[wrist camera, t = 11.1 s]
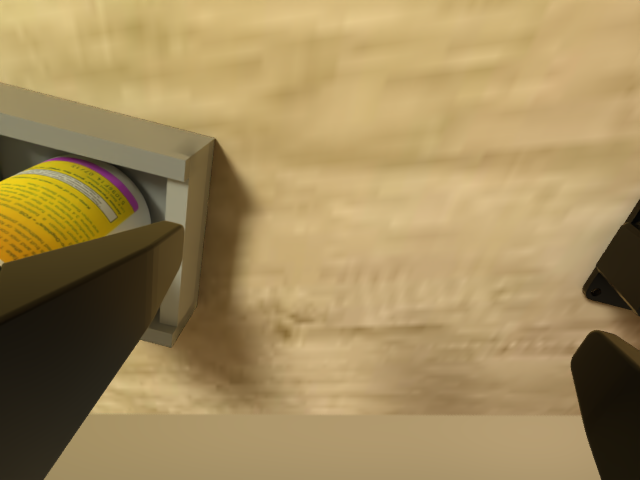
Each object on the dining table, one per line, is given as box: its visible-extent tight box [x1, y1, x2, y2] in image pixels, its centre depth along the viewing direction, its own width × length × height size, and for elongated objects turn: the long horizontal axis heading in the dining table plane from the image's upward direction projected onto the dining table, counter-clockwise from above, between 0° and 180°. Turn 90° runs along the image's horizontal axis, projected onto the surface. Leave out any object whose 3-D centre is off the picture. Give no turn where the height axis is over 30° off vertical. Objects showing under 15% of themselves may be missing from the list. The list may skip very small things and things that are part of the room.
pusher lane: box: [0, 83, 215, 348], centre depth 21 cm, size 18×11×7 cm, turn 77°
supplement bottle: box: [0, 154, 151, 266], centre depth 18 cm, size 7×7×13 cm
